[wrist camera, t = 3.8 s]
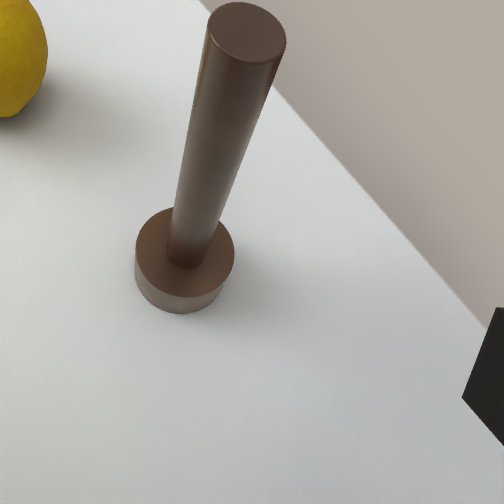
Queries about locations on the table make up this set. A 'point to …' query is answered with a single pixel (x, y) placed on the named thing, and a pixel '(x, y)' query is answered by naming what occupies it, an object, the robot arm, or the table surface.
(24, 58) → the apple
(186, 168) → the brown joystick
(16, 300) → the table surface
